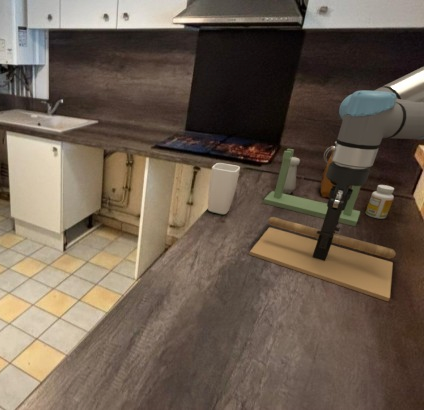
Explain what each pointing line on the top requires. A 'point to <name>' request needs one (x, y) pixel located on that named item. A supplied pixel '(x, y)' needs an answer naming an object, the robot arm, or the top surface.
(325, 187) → the coffee package
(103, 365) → the top surface
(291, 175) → the salt shaker
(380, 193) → the supplement bottle
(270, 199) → the rack
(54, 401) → the top surface
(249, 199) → the top surface
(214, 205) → the cup
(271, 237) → the mat
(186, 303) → the top surface
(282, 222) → the rod
